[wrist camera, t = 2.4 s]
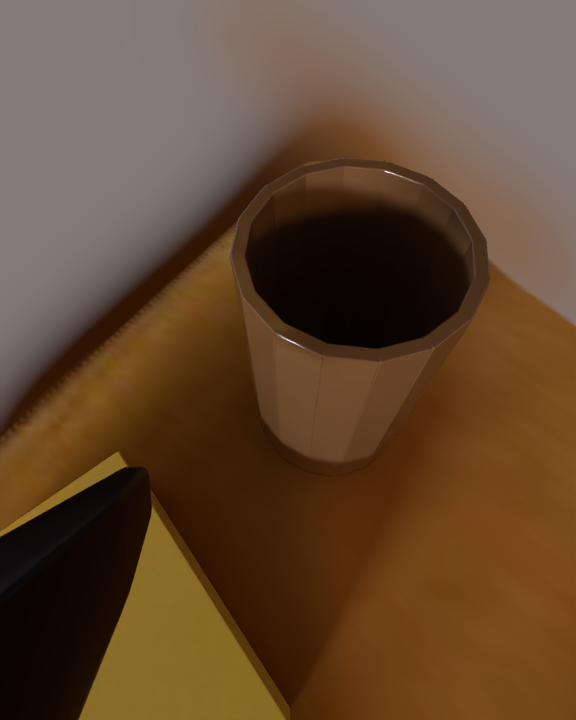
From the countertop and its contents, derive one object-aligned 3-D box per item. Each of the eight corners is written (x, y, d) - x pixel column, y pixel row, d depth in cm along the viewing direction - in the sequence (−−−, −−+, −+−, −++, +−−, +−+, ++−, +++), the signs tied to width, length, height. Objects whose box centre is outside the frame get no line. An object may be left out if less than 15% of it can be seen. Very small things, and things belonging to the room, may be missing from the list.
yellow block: (298, 710, 18) (300, 740, 14) (44, 956, 15) (-36, 1073, 11) (146, 473, 22) (118, 450, 18) (-76, 631, 19) (-162, 641, 15)
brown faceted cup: (424, 418, 23) (543, 263, 12) (318, 506, 21) (347, 416, 10) (335, 324, 25) (367, 127, 15) (232, 396, 23) (183, 231, 13)
